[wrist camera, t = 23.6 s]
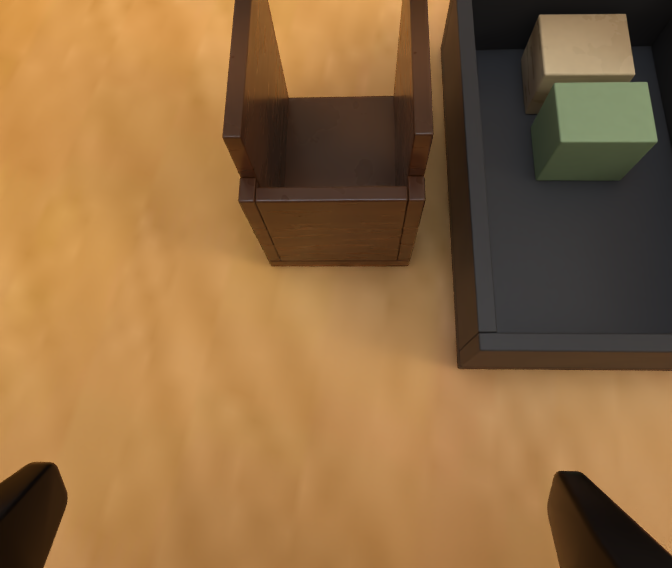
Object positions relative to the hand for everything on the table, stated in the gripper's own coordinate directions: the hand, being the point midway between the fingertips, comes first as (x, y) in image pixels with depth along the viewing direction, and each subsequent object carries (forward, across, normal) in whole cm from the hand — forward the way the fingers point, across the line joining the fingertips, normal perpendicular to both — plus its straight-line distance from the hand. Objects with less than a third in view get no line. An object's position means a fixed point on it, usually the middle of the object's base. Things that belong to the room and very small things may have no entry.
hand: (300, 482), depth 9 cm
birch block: (+20, -11, -6) cm, 24 cm away
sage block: (+17, -11, -1) cm, 21 cm away
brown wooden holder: (+19, 0, 0) cm, 19 cm away
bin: (+19, -11, +1) cm, 22 cm away
